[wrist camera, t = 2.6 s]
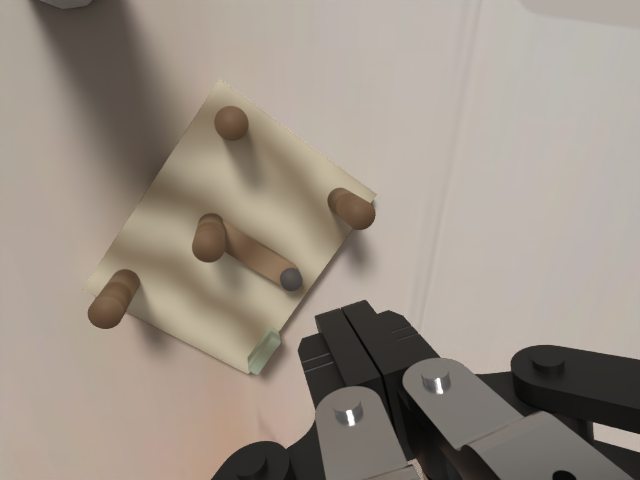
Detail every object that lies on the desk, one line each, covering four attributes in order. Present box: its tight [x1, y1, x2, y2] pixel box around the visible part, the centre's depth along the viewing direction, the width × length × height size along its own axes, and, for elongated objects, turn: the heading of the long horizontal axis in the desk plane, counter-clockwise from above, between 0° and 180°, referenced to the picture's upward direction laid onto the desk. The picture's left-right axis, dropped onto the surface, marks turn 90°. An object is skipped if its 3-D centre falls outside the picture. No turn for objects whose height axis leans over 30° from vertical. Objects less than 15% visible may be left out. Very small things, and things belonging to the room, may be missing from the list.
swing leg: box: [192, 213, 303, 291], centre depth 38 cm, size 11×2×7 cm, turn 55°
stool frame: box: [82, 79, 377, 375], centre depth 38 cm, size 22×17×9 cm
